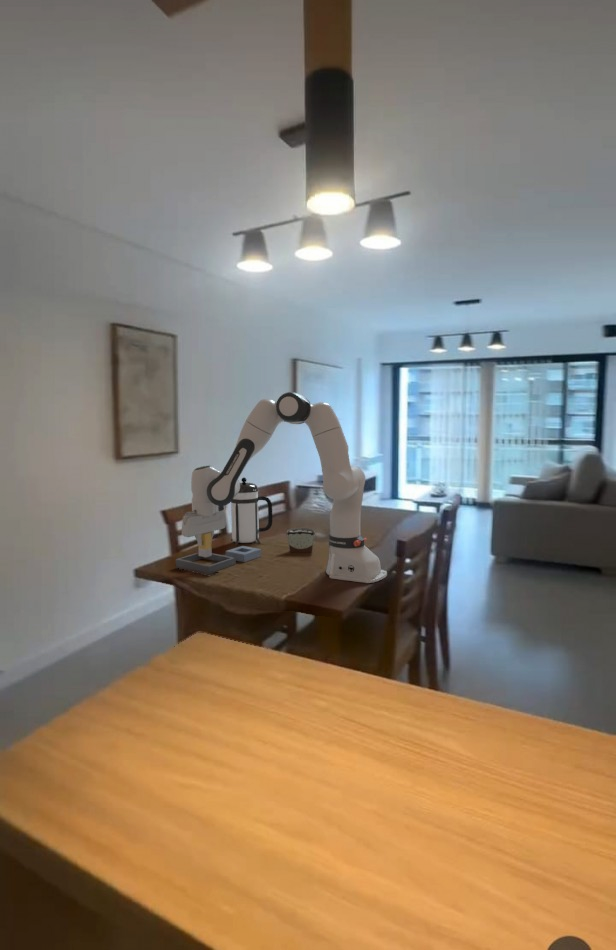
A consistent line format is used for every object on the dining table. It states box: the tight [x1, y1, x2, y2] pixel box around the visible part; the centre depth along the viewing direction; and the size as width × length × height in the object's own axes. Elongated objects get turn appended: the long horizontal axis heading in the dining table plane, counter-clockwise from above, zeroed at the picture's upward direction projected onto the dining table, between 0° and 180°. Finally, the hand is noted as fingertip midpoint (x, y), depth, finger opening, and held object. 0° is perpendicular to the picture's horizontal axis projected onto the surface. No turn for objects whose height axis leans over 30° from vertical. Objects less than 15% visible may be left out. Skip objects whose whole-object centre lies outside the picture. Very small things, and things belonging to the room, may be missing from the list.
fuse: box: [197, 532, 213, 557], centre depth 210 cm, size 4×3×9 cm
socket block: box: [225, 545, 262, 563], centre depth 221 cm, size 10×10×4 cm
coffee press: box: [230, 477, 273, 546], centre depth 247 cm, size 17×16×30 cm
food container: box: [285, 527, 316, 554], centre depth 231 cm, size 12×6×10 cm, turn 84°
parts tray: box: [175, 552, 237, 576], centre depth 211 cm, size 18×14×4 cm
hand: (204, 544), depth 210 cm, fingers closed on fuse, 3 cm apart
